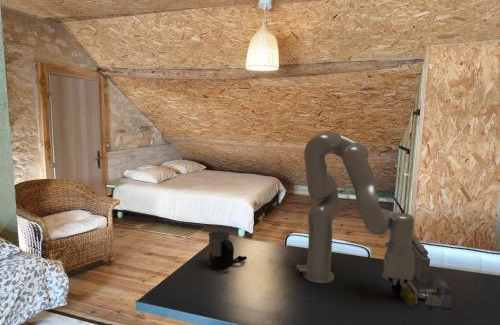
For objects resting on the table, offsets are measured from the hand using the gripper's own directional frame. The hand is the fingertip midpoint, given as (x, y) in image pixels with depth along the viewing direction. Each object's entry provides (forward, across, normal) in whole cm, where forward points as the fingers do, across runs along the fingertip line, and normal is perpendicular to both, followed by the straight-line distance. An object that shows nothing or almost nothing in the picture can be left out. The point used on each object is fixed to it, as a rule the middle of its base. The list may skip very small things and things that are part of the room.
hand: (396, 293), depth 124 cm
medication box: (+2, +3, +1) cm, 4 cm away
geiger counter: (+2, +14, +25) cm, 29 cm away
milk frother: (+2, -68, +15) cm, 69 cm away
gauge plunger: (+1, +11, -1) cm, 11 cm away
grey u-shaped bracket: (+1, +14, 0) cm, 14 cm away
